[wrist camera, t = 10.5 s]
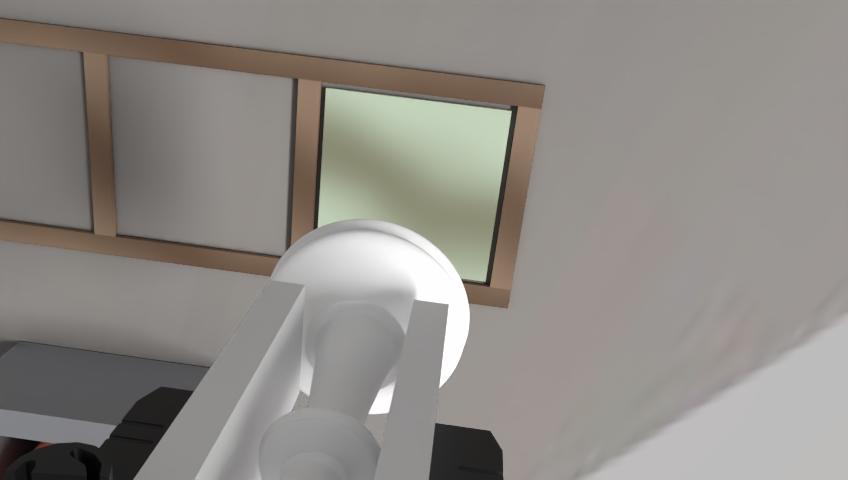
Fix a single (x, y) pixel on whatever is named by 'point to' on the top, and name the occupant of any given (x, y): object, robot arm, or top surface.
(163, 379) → the housing
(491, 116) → the brown wooden flat frame
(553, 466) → the top surface
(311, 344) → the chess piece
